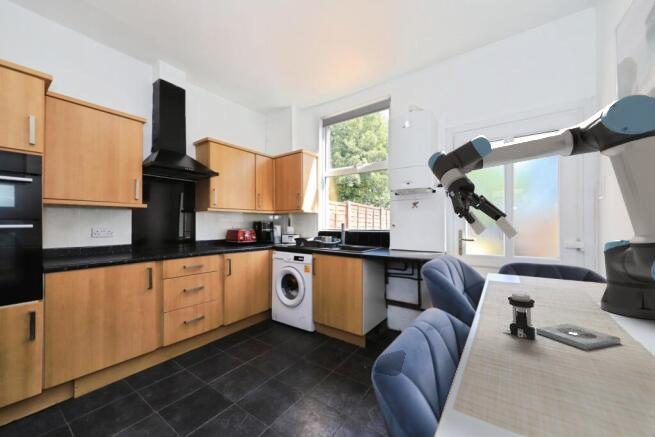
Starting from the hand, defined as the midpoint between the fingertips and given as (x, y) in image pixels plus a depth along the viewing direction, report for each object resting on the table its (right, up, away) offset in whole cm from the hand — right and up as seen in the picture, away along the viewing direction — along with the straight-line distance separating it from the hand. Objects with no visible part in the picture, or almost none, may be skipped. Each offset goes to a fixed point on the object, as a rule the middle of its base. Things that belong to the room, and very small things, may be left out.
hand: (498, 233), depth 71 cm
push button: (0, -25, -8) cm, 26 cm away
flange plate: (+13, -25, -9) cm, 29 cm away
